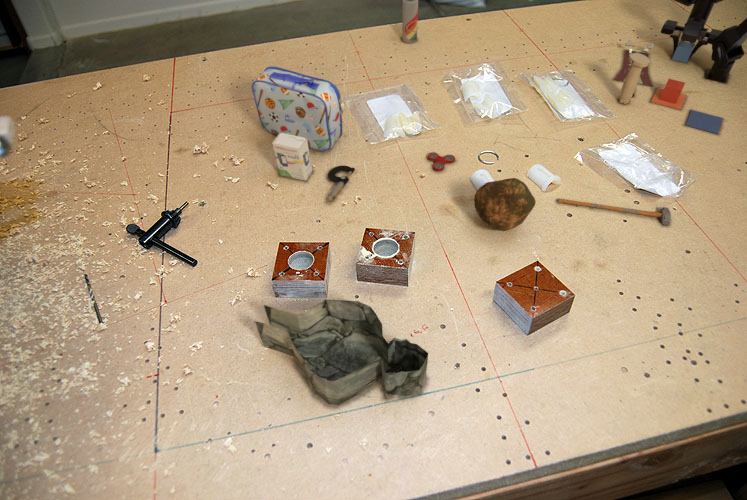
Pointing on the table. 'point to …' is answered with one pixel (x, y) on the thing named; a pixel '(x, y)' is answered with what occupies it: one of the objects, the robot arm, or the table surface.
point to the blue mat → (704, 122)
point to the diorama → (626, 65)
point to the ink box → (292, 156)
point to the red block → (672, 91)
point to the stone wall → (345, 350)
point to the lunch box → (299, 106)
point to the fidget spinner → (440, 160)
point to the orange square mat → (665, 103)
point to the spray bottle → (409, 20)
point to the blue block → (683, 51)
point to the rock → (504, 203)
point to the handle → (633, 76)
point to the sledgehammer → (627, 210)
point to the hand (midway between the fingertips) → (681, 55)
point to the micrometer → (338, 180)
